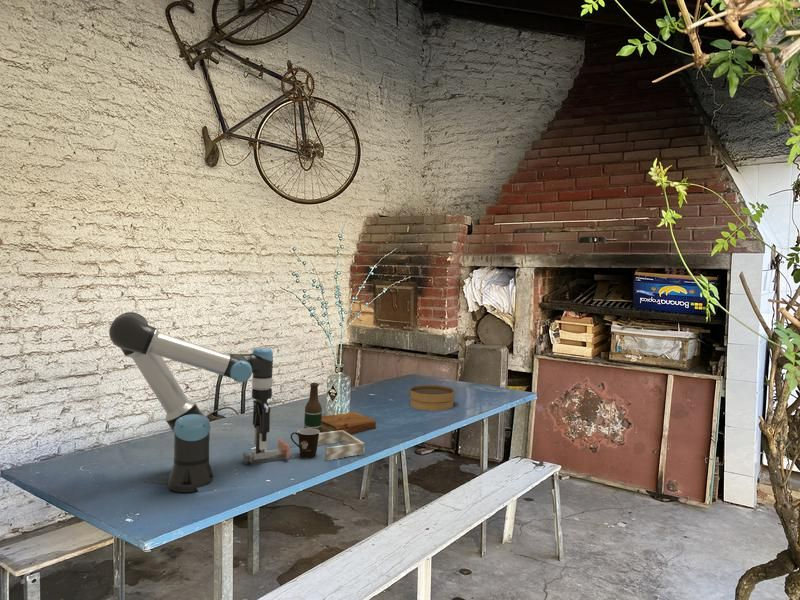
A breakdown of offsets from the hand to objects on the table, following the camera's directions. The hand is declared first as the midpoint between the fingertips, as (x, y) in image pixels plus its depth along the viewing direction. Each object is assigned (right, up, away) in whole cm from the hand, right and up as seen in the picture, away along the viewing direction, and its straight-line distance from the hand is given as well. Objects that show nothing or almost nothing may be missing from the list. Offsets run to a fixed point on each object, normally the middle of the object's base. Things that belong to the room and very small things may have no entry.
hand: (260, 446), depth 223 cm
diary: (+28, -5, +49) cm, 56 cm away
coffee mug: (+16, -6, +10) cm, 20 cm away
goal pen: (+27, -6, +17) cm, 33 cm away
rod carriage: (+3, -4, +2) cm, 6 cm away
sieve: (+72, -4, +96) cm, 120 cm away
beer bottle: (+15, -5, +37) cm, 40 cm away
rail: (+2, -6, +2) cm, 7 cm away
